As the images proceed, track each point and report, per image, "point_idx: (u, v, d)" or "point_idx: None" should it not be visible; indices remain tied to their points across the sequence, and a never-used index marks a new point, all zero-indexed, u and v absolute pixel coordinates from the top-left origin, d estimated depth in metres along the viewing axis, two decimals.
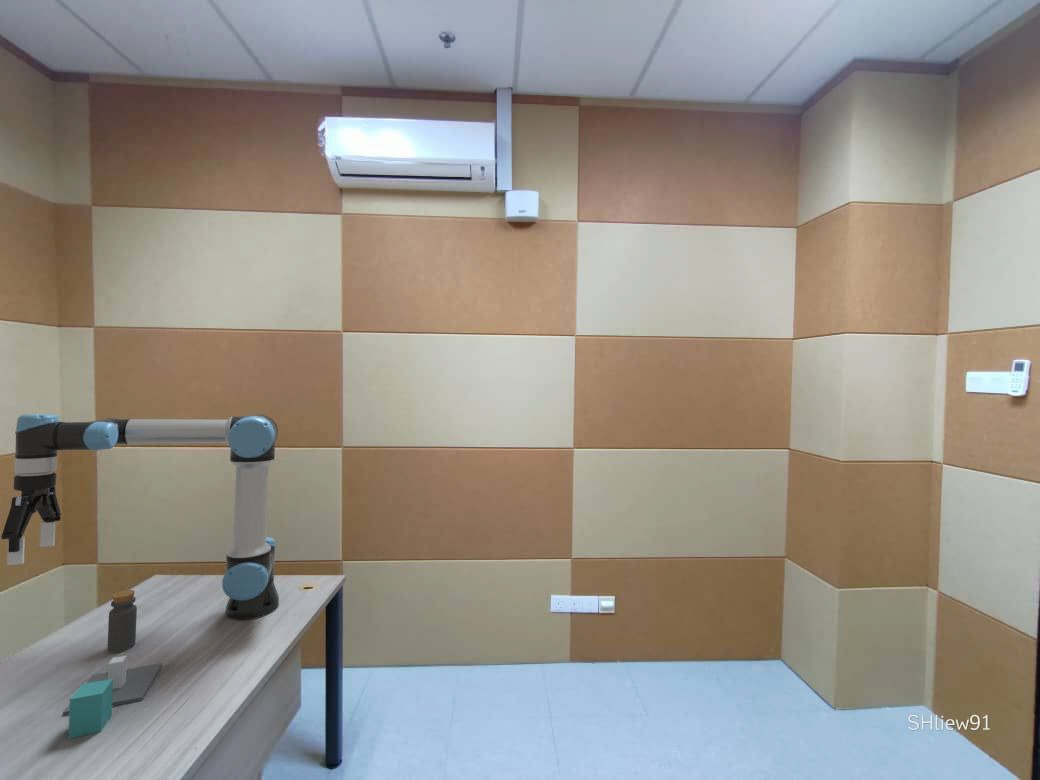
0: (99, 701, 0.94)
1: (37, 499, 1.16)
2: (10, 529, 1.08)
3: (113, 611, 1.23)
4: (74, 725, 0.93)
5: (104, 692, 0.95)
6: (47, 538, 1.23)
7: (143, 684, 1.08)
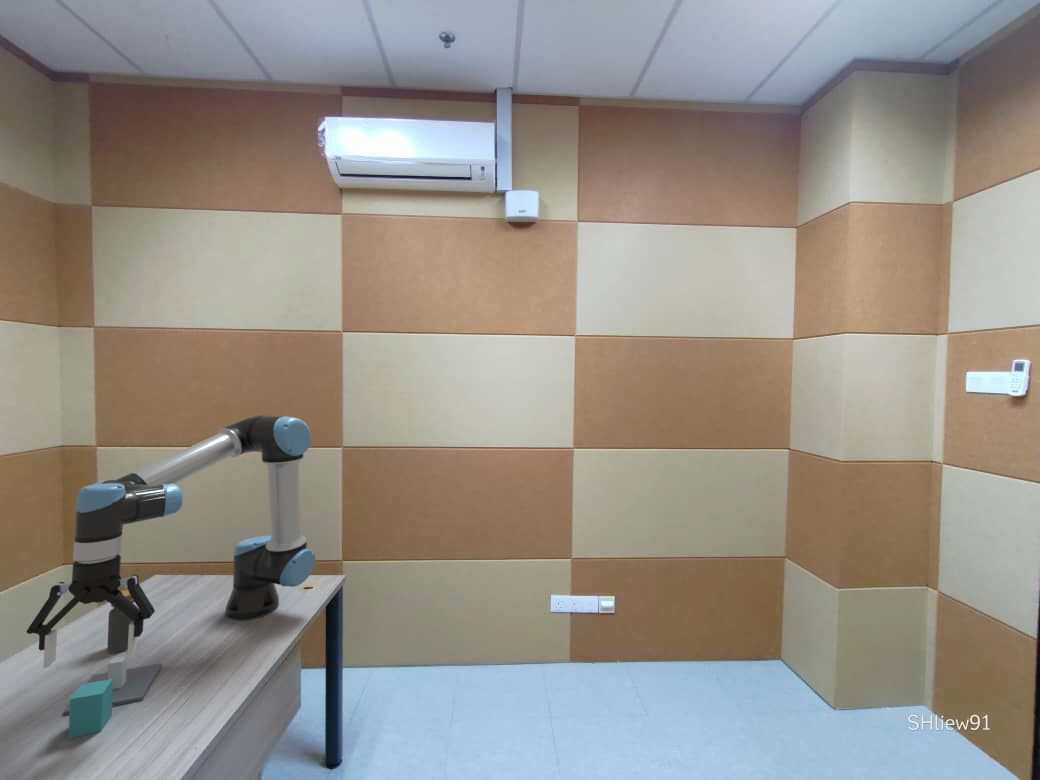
0: (99, 701, 0.94)
1: (80, 591, 0.94)
2: None
3: (113, 611, 1.23)
4: (74, 725, 0.93)
5: (104, 692, 0.95)
6: None
7: (143, 684, 1.08)
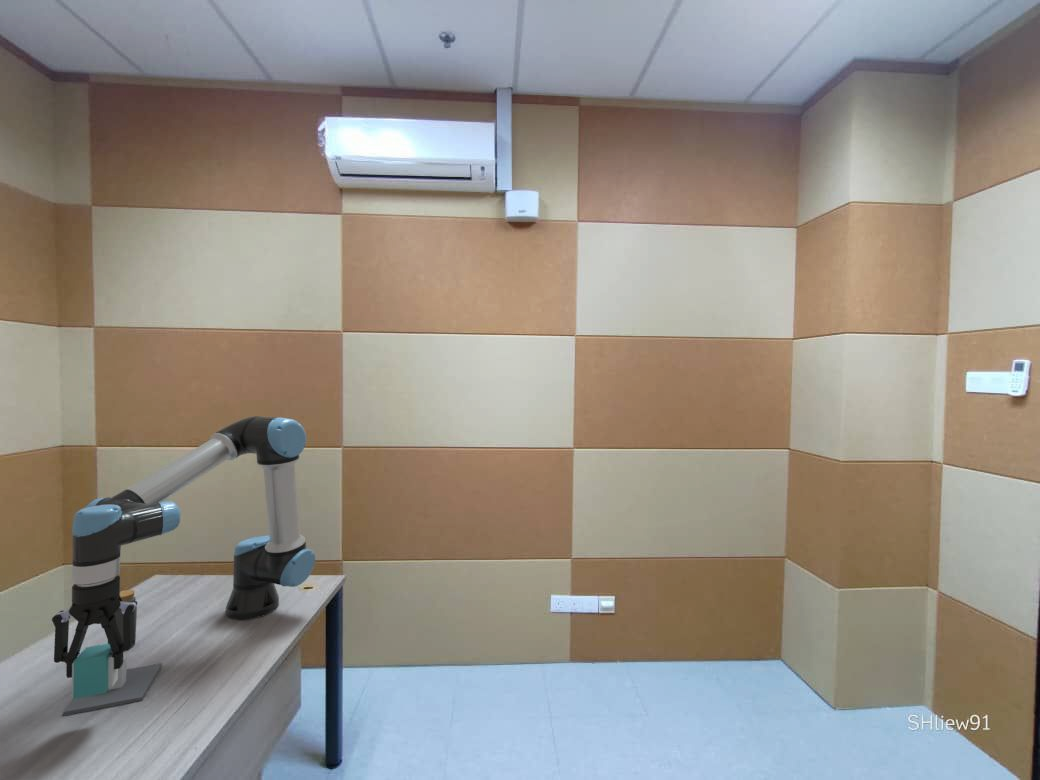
0: (103, 663, 0.95)
1: None
2: None
3: None
4: (78, 686, 0.93)
5: (107, 655, 0.96)
6: None
7: (143, 684, 1.08)
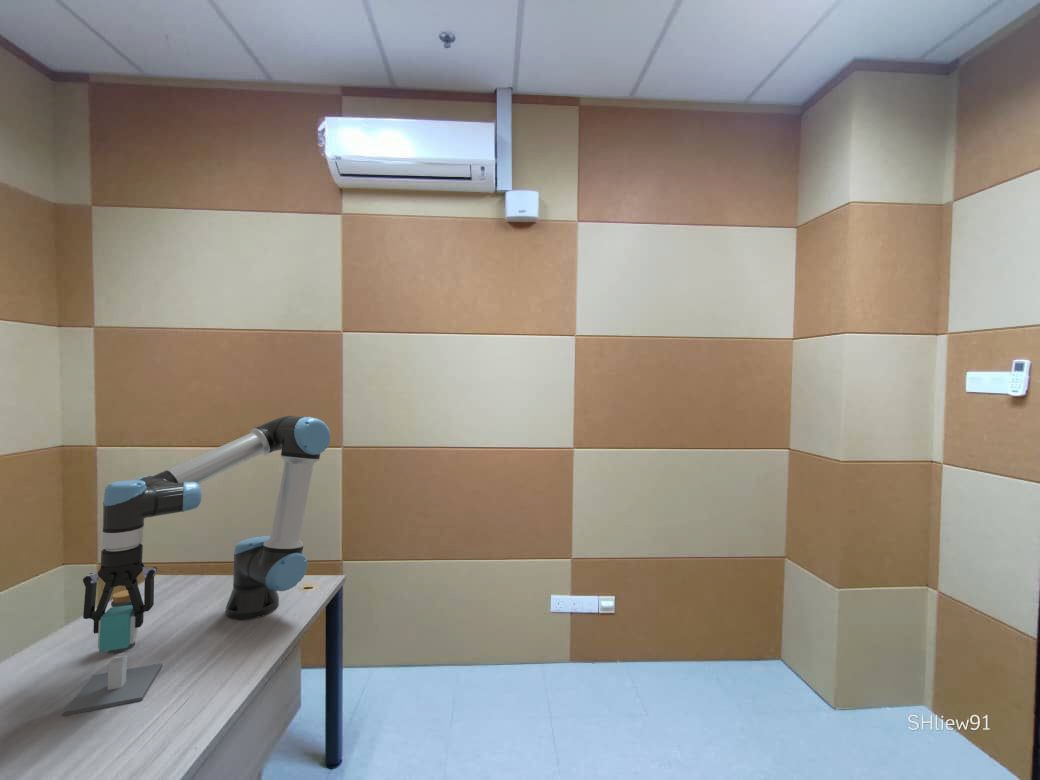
0: (126, 620, 1.06)
1: None
2: None
3: None
4: (104, 640, 1.05)
5: (130, 614, 1.07)
6: None
7: (143, 684, 1.08)
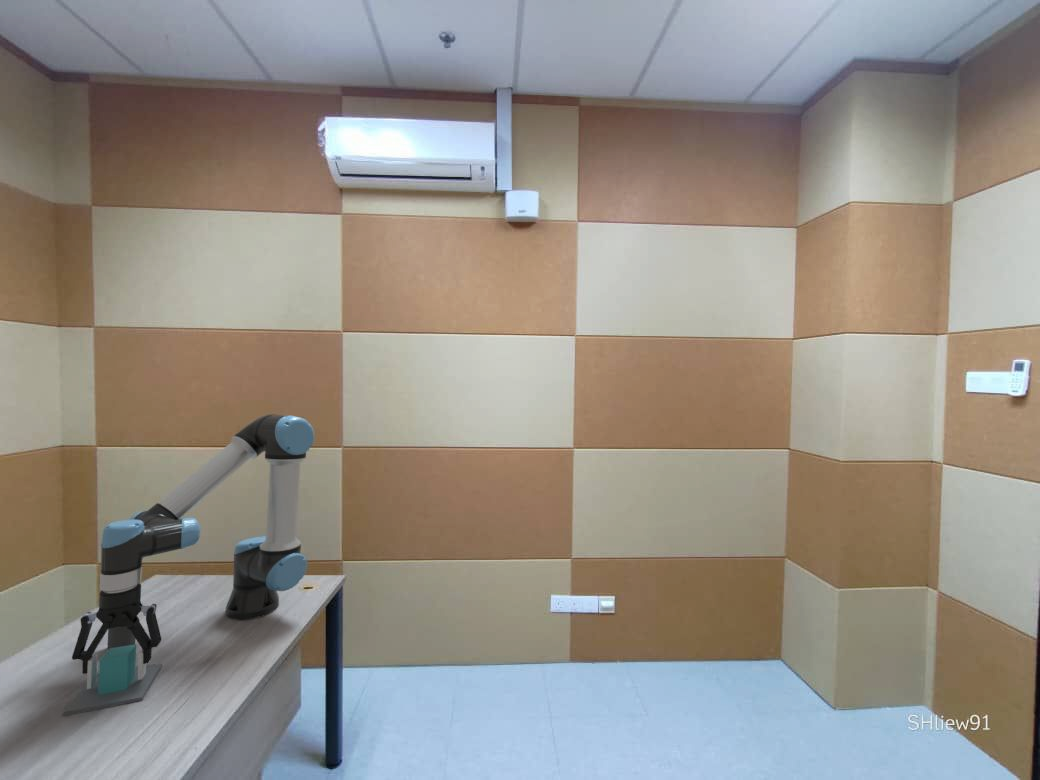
0: (125, 662, 1.06)
1: (106, 618, 1.06)
2: None
3: None
4: (103, 683, 1.05)
5: (129, 655, 1.07)
6: None
7: (143, 684, 1.08)
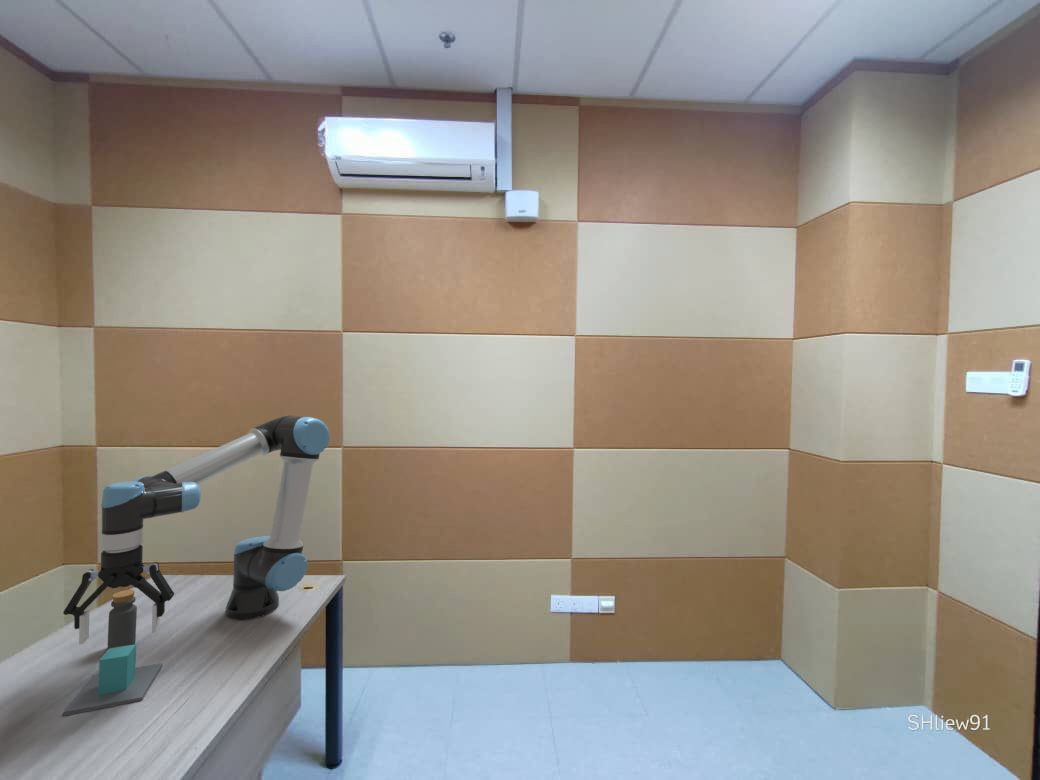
0: (125, 662, 1.06)
1: (108, 577, 1.06)
2: None
3: (113, 611, 1.23)
4: (103, 683, 1.05)
5: (129, 655, 1.07)
6: None
7: (143, 684, 1.08)
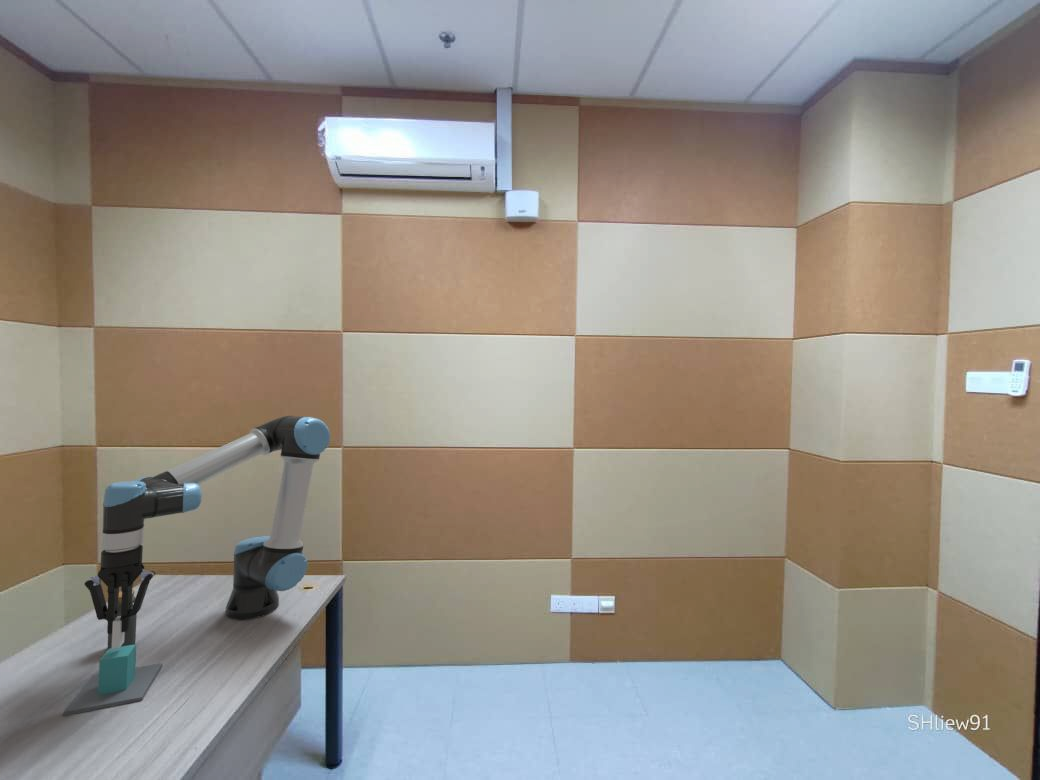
0: (125, 662, 1.06)
1: None
2: None
3: None
4: (103, 683, 1.05)
5: (129, 655, 1.07)
6: None
7: (143, 684, 1.08)
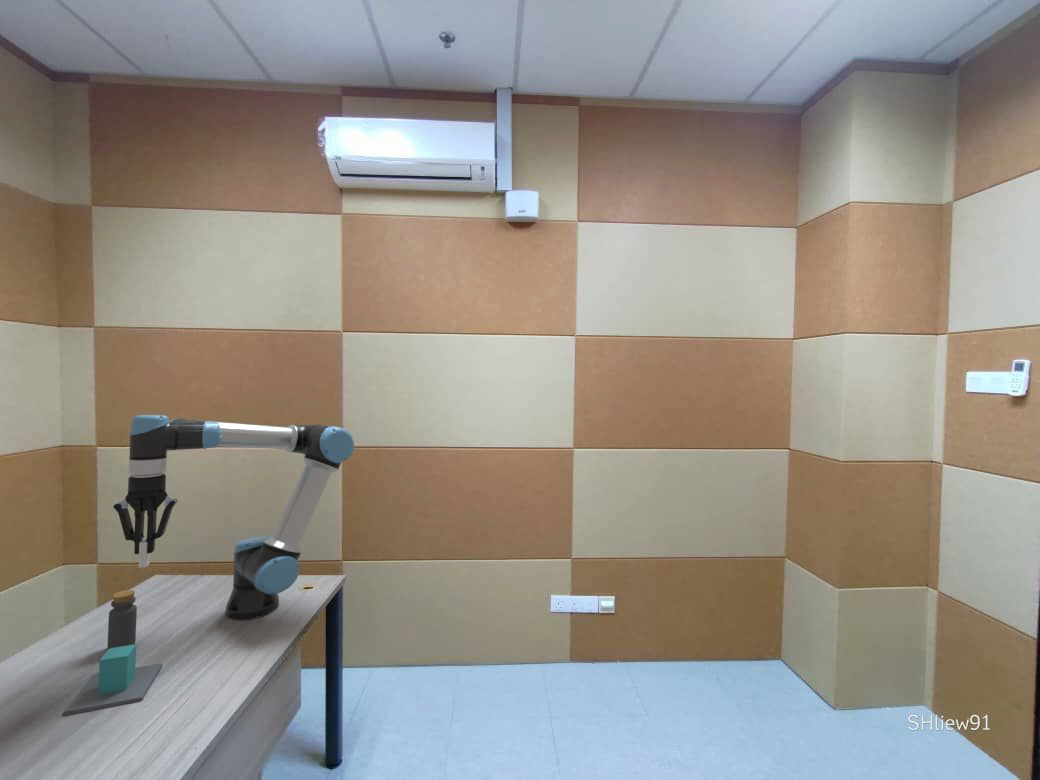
0: (125, 662, 1.06)
1: None
2: None
3: (113, 611, 1.23)
4: (103, 683, 1.05)
5: (129, 655, 1.07)
6: None
7: (143, 684, 1.08)
